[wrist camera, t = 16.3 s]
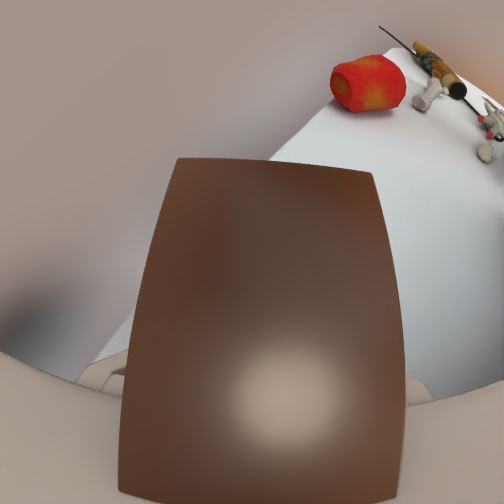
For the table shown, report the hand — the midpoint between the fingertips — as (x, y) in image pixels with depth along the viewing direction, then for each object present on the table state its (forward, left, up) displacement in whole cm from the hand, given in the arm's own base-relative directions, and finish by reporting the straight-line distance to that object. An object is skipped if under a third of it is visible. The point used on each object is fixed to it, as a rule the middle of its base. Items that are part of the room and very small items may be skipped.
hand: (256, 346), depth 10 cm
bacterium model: (-43, +28, -8) cm, 51 cm away
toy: (-52, +26, -8) cm, 58 cm away
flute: (-63, +19, -7) cm, 66 cm away
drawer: (+1, 0, -8) cm, 8 cm away
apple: (-33, -3, -6) cm, 34 cm away
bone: (-53, +13, -9) cm, 55 cm away
